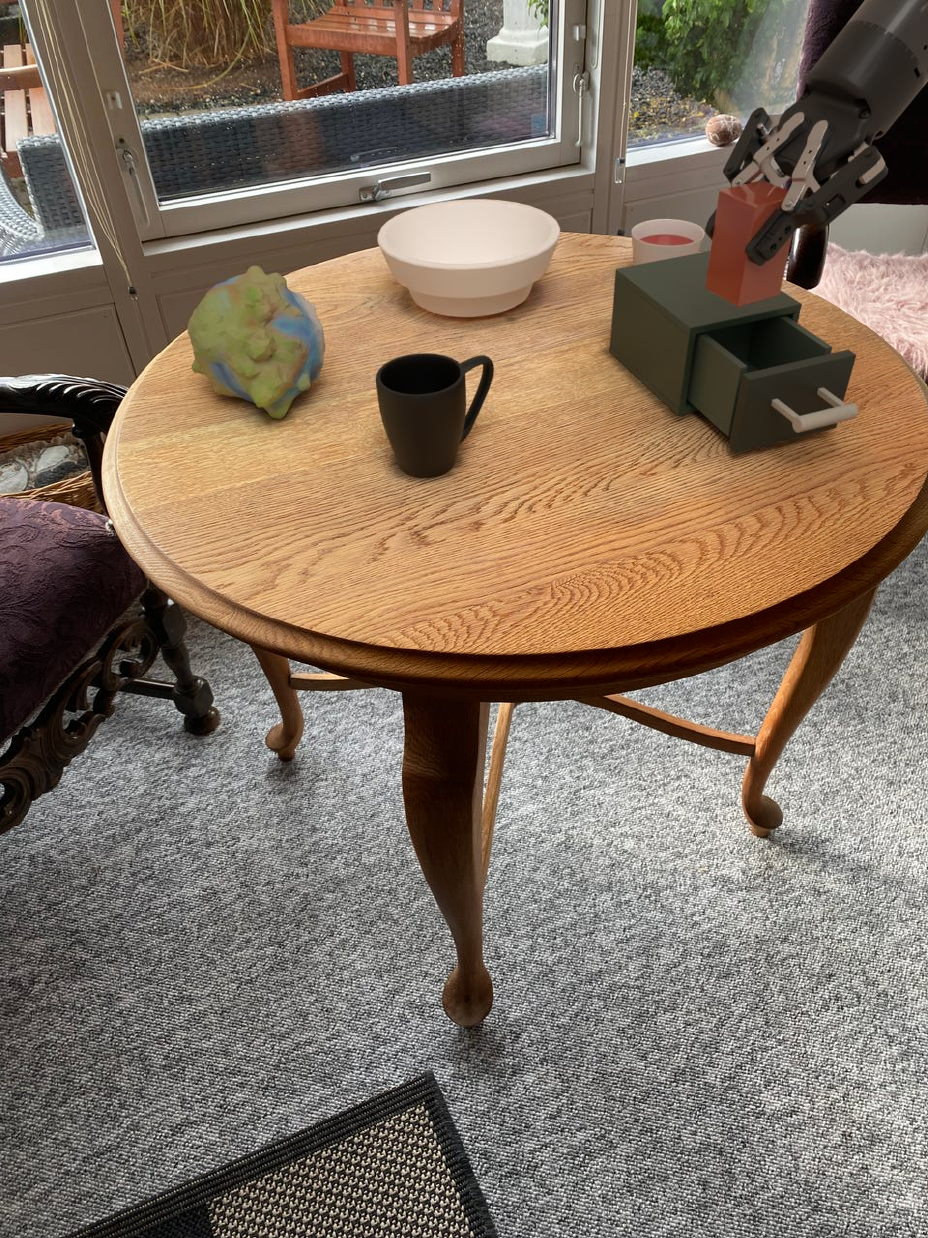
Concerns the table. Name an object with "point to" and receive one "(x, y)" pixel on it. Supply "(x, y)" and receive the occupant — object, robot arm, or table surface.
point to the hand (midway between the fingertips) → (732, 247)
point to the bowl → (469, 254)
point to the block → (745, 244)
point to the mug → (429, 408)
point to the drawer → (769, 382)
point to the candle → (665, 240)
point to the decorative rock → (257, 340)
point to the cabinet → (675, 321)
